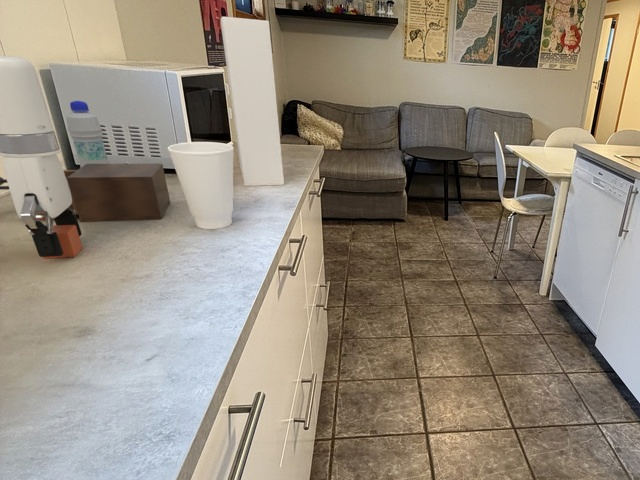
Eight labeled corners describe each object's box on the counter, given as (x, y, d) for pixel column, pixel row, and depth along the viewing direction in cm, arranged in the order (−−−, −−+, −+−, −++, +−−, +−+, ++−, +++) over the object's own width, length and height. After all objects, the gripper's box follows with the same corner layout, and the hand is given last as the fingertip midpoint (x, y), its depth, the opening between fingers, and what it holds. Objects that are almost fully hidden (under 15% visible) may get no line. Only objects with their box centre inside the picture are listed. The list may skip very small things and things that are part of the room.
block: (44, 258, 80) (35, 234, 78) (53, 249, 84) (45, 225, 82) (75, 257, 82) (67, 233, 80) (83, 247, 85) (75, 224, 83)
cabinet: (80, 221, 97) (66, 177, 92) (97, 204, 107) (86, 163, 103) (161, 219, 101) (151, 176, 97) (170, 202, 112) (162, 163, 108)
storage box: (284, 184, 133) (268, 20, 114) (244, 186, 129) (221, 16, 110) (275, 168, 149) (261, 23, 131) (240, 169, 145) (220, 19, 127)
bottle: (119, 181, 124) (98, 100, 115) (112, 188, 119) (89, 102, 109) (89, 181, 122) (65, 98, 113) (80, 188, 117) (54, 101, 107)
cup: (224, 212, 108) (212, 139, 101) (255, 224, 103) (245, 148, 95) (171, 223, 100) (155, 145, 92) (202, 237, 94) (187, 155, 86)
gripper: (21, 134, 80) (54, 230, 88) (-31, 154, 66) (13, 266, 74) (74, 135, 83) (101, 228, 90) (35, 154, 68) (71, 263, 76)
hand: (62, 245), depth 82 cm, fingers open, 9 cm apart
